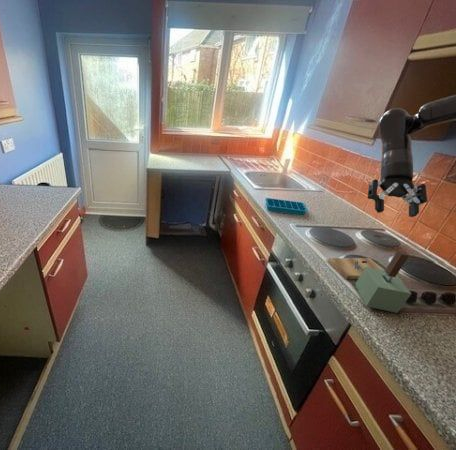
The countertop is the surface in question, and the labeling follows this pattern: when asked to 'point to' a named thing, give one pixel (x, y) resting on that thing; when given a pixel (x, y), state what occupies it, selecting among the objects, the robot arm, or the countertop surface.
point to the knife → (395, 265)
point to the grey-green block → (381, 290)
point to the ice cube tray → (285, 206)
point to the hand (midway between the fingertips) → (396, 214)
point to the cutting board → (352, 266)
